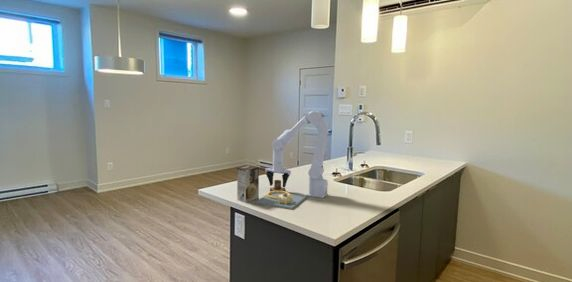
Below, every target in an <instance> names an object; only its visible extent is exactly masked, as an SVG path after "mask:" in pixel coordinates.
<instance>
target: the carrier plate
mask: <svg viewBox="0 0 572 282" xmlns="http://www.w3.org/2000/svg"><path fill="white" fill-rule="evenodd" d="M306 199H307V196H306V195H300V194H295V193H293V194H292V193H290V192H288V191H286V190H285V191H271V192H270V191H268V192H266V195H263V197H260V198H258V199H256V200H255V201H254V204H255V203H256V204H255V205H261V204H262V206H267V205H269V206H268V207H273V206H274V208H279V207H280V209H285V210H294V209H295V208H296V207H298V205H300V204H301V203H302V202H303V201H305V200H306Z"/></svg>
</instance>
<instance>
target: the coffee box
mask: <svg viewBox="0 0 572 282" xmlns="http://www.w3.org/2000/svg"><path fill="white" fill-rule="evenodd" d="M259 168H260V167H259V166H255V165H252V164H251V165H245V166H241V167H237V168H236V171H237V173H236V176H237V177H236V179H237V181H236V182H237V190H236V191H237V192H236V194H237V195H236V196H237V201H241V202H243V203H248V201H249V202H251V201H254V200H258V199H260V198H259V197H260V196H259V194H260V193H259V191H260V187H259V185H260V184H259V183H260V182H259V180H260V178H259V176H260V173H259Z"/></svg>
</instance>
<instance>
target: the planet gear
mask: <svg viewBox="0 0 572 282" xmlns="http://www.w3.org/2000/svg"><path fill="white" fill-rule="evenodd" d="M273 184H274V185H273V187H269V192H271V191H285V192H286V187H283V186H282V181H281V180H280V179H275V180H273Z"/></svg>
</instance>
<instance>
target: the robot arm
mask: <svg viewBox="0 0 572 282" xmlns="http://www.w3.org/2000/svg"><path fill="white" fill-rule="evenodd" d="M325 116H326V115H324V113H323V112H322V111H320V110H318V109H317V110H311V111H309V112H308V113H307V114H305V115H304V116H303V117H302V118H301V119H300V120H299V121H298V122H297V123H295V124H294V125H293V127H291V128H290V129H284V130H283V131H282V132H283V133H282V134H281V135H280V136H277V137H276V138H277V139H274V140H273V141H272V143H271V148H272V168H270V167H266V168H265V170H264V171H265V173H266V174H265V175H266V178H267V179H268V182H269V186H270V187H271V186H274V185H273V184H274V174H282V175H281V177H282V188H286V186H287V181H288V179H289V177H290V175H292V170H288V169H284V154H285V153H284V150H285V148H286V146H287V145H288V144H289V143H290V142H291V141H292V140H294V139H295V134H296V133H297V132H299V131H300V130H301V129H303V128H304V127H305V126H306V125H309V124H312V125H314V127H315V128H316V129H317V136H316V143H315V149H314V153H313V160H312V162H311V166H310V168H309V170H308V176H309V177H308V193H306V194H305V196H306V197H312V198H313V197H315V198H322V199H324V198H325V197H326V196H327V195H328V184H329V183H328V180H327V179H326V178H324V176H323V173H324V171H325V169H324V155H325V150H326V144H327V139H328V134H329V125H328V123H327V120H326V117H325Z"/></svg>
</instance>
